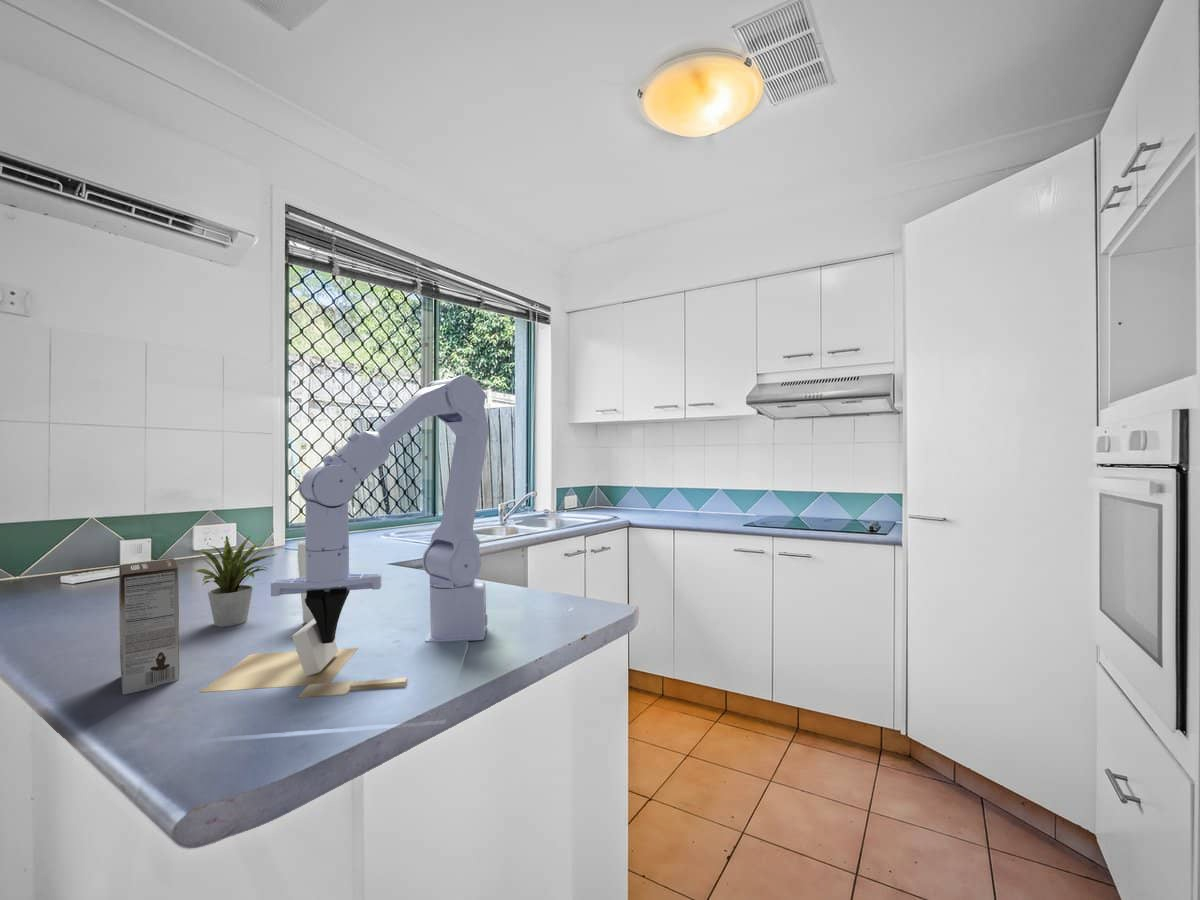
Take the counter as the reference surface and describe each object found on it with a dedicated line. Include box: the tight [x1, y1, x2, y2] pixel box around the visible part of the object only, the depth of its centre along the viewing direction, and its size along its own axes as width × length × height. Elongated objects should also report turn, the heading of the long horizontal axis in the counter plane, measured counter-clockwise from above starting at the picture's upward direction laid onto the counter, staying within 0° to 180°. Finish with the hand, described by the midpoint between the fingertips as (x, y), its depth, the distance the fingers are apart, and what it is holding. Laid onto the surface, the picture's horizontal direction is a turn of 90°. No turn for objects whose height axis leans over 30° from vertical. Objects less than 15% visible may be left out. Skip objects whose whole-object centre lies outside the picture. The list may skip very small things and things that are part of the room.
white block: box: [291, 619, 339, 677], centre depth 83 cm, size 2×8×6 cm, turn 8°
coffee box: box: [118, 558, 180, 696], centre depth 80 cm, size 9×6×16 cm
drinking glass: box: [297, 540, 314, 625], centre depth 106 cm, size 7×7×15 cm
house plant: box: [193, 535, 278, 628], centre depth 105 cm, size 14×14×16 cm
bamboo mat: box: [199, 647, 359, 693], centre depth 82 cm, size 16×14×1 cm
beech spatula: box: [296, 676, 408, 699], centre depth 75 cm, size 13×4×1 cm, turn 98°
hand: (328, 641), depth 83 cm, fingers closed
